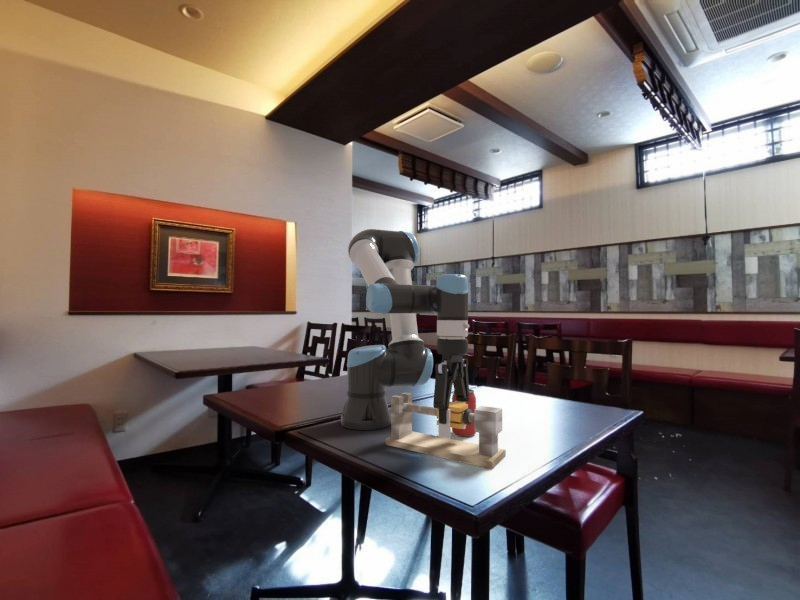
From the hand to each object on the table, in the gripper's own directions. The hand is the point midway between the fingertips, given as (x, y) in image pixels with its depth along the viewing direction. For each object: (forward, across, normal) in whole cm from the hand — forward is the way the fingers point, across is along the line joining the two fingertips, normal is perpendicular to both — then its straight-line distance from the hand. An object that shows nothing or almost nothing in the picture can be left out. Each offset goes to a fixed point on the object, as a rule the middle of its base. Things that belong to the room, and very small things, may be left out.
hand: (452, 432), depth 93 cm
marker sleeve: (-2, 0, 0) cm, 2 cm away
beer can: (+5, +15, +4) cm, 16 cm away
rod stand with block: (+5, 0, +2) cm, 5 cm away
